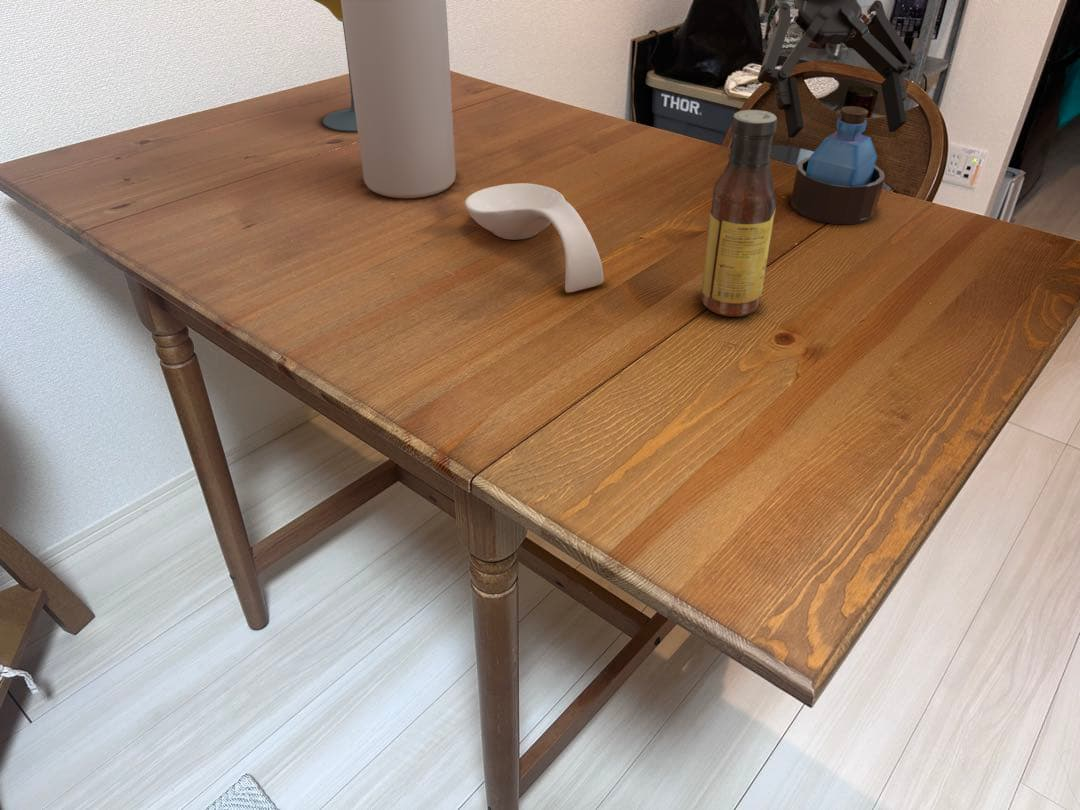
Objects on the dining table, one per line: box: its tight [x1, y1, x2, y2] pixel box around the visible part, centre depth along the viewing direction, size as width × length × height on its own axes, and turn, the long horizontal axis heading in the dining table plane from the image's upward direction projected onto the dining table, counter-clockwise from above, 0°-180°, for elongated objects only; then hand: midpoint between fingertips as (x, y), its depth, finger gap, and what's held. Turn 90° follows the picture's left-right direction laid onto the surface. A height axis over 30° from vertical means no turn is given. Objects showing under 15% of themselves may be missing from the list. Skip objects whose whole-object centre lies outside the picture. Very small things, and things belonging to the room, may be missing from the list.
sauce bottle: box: [700, 109, 778, 318], centre depth 81 cm, size 6×6×20 cm
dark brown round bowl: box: [789, 156, 886, 226], centre depth 105 cm, size 11×11×5 cm
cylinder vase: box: [341, 0, 457, 199], centre depth 104 cm, size 12×12×25 cm
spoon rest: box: [464, 182, 605, 294], centre depth 94 cm, size 24×12×7 cm, turn 29°
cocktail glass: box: [313, 0, 358, 133], centre depth 124 cm, size 18×18×25 cm
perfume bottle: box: [806, 105, 878, 185], centre depth 103 cm, size 6×6×12 cm
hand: (847, 130), depth 101 cm, fingers open, 13 cm apart
